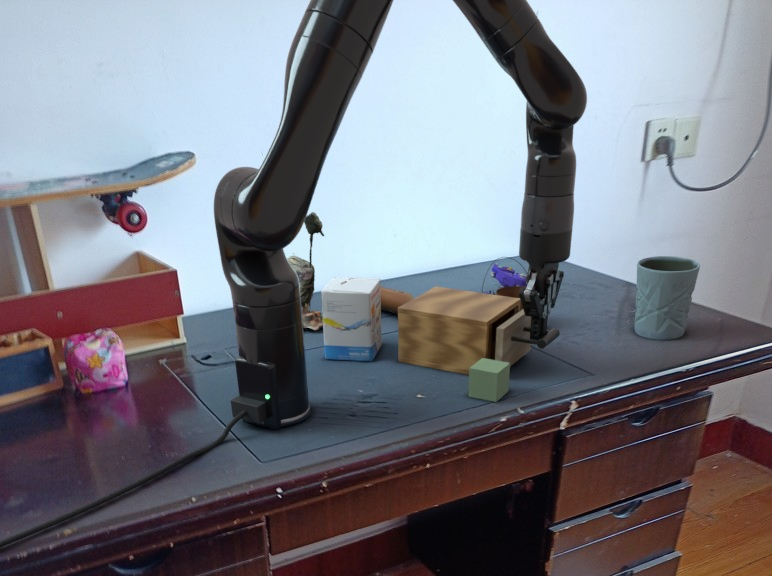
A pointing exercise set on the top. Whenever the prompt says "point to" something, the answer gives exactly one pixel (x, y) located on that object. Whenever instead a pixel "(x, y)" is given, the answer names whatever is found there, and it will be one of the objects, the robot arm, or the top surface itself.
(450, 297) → the cabinet
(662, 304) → the drinking glass
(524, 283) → the game controller
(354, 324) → the ink box
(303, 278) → the plant with pod
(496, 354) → the drawer
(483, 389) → the block
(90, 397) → the top surface
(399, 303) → the sunglasses case
